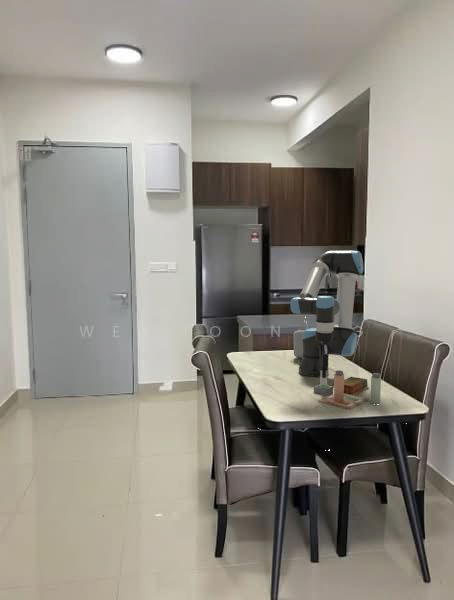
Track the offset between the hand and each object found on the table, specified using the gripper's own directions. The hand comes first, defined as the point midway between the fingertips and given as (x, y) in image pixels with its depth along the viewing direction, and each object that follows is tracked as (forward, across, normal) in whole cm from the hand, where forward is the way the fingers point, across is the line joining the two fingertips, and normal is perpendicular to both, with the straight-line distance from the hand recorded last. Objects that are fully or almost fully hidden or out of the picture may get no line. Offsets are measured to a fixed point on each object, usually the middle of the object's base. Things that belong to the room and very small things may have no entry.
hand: (323, 384), depth 203 cm
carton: (+4, -6, +13) cm, 15 cm away
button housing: (+4, 0, 0) cm, 4 cm away
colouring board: (+4, +12, +7) cm, 14 cm away
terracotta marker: (+3, +15, +4) cm, 16 cm away
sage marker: (+4, +15, +19) cm, 24 cm away
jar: (+4, -68, -2) cm, 68 cm away
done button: (+2, 0, 0) cm, 2 cm away
